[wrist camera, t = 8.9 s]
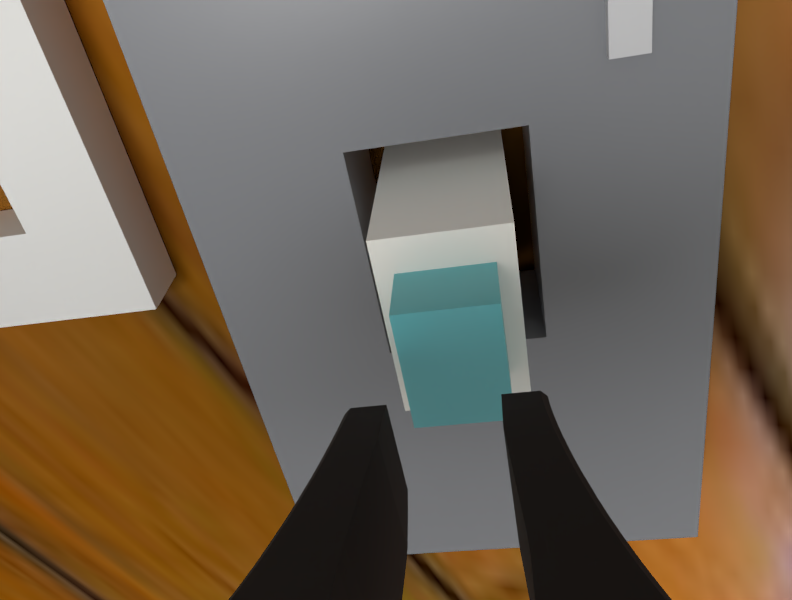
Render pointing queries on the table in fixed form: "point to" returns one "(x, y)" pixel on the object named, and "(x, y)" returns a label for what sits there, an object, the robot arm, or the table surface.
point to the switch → (548, 204)
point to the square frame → (67, 183)
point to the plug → (449, 277)
